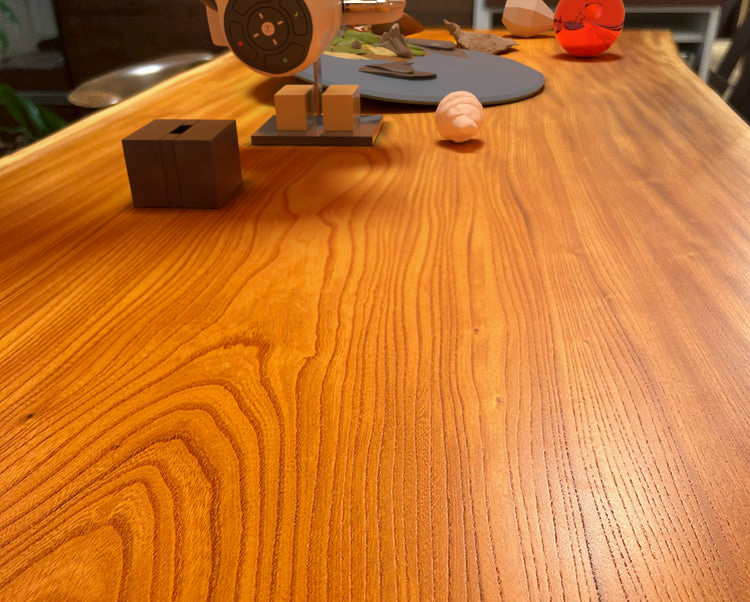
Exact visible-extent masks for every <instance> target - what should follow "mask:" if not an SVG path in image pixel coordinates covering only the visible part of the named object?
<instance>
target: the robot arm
mask: <svg viewBox="0 0 750 602" xmlns="http://www.w3.org/2000/svg"><path fill="white" fill-rule="evenodd" d="M198 1H199V2H201V4H203V5H204V6H205V8H206V9H205V10H206V16H207V22H208V29H209V32H210V37H211V41H212V44H213V45H215V46H219V47H226V48H228V49H229V50H230V52H231V53H232V55H233V56H234V57H235V58H236V59H237V61H239V63H240V64H242V65H243V66H244V67H246V68H247V69H248V70H250V71H252V72H254V73H256V74H259V75H261V76H263V77H269V78H281V77H282V78H283V77H291V76H292V75H294V74H297V73H299V72H302V71H303V70H305V69H307V68H308V67H310V66H311V65H312V64H313V63H314V62H315V61H316V60H317V59H318V58H319V57H320V56H321V55H322V54H323V53H324V51H325V50H326V48H327V47H328V46H329V44H330V43H331V42H332V40H333V39H334V38H335V36H336V35H337V33H338V31H339V30H341V27H342V25H345V26H349V25H350V26H351V25H359V24H383V23H390V22H394V21H397V20H398V19H400V18H401V17H402V16H403V13H404V10H405V8H406V5H407V1H406V0H198Z"/></svg>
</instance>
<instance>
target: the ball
mask: <svg viewBox="0 0 750 602" xmlns="http://www.w3.org/2000/svg"><path fill="white" fill-rule="evenodd" d="M625 20H626V9H625V5H624V2H623V0H559V2H558V3H557V5H556V8H555V11H554V19H553V28H552V30H553V35H554V37H555V40H556V42H557V43H558V45H559V46H560V48H562V49H563V50H564V51H565V52H566V53H568V54H570V55H572V56H576V57H579V58H581V57H582V58H589V57H596V56H597V57H598V56H599V55H601V54H603V53H605V52H606V51H608V50H609V49H610V48H612V46H613V45H614V44H615V43H616V42H617V41H618V39H619V37H620V36H621V34H622V31H623V29H624V26H625V22H626V21H625Z"/></svg>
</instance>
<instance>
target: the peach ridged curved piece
mask: <svg viewBox="0 0 750 602" xmlns="http://www.w3.org/2000/svg"><path fill="white" fill-rule="evenodd" d="M485 117H486V116H485V112H484V107H483V105H481V103H480V102H479V101H478V99H477V98H476V97H475V96H474V95H473V94H471V93H469V92H466V91H458V92H453V93H450V94H448V95H447V96H446V97H445V98H444V99H443V100H442V101H441V102H440V104H439V105H437V108H436V110H435V113H434V121H435V127H436V130H437V133H438V134H439V135H440V136H441V137H442V138H443V139H445V140H448V141H450V140H451V141H453V142H454V143H456V144H457V143H464V142H467V141H469V140H471V139H472V138H473V137H475V136H476V135H478V134H479V133H480V131H481V130H482V127H483V125H484V121H485Z"/></svg>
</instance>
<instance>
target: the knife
mask: <svg viewBox="0 0 750 602" xmlns="http://www.w3.org/2000/svg"><path fill="white" fill-rule="evenodd" d="M313 68H314V84H313V85H314V93H315V110H316V116H320V115H323V110H322V94H323V93H324V92H323V91H324V90H323V87H322V73H321V56H320V57H319V58H318V59H317V60H316V61H315V62H314V63H313Z"/></svg>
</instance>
